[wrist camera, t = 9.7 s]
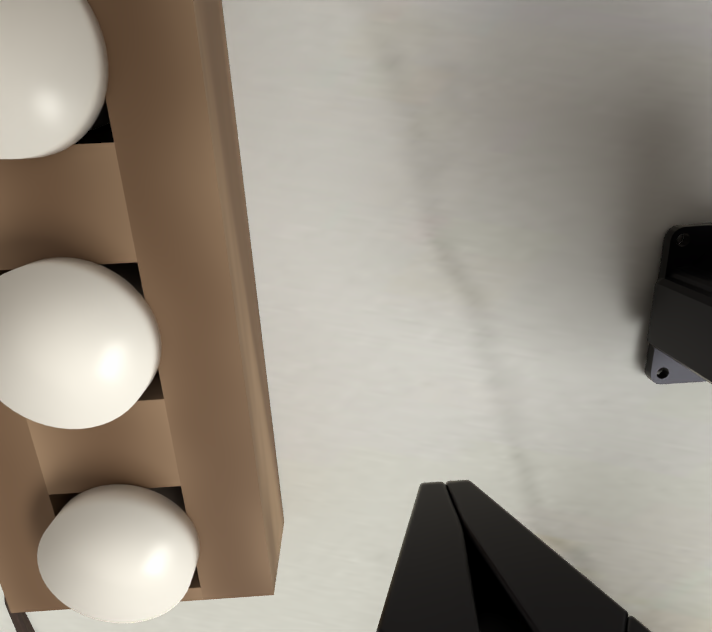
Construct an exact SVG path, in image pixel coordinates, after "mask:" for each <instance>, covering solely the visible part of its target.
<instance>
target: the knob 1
mask: <svg viewBox="0 0 712 632" xmlns="http://www.w3.org/2000/svg"><path fill="white" fill-rule="evenodd" d="M107 85H108V57H107V49H106V45H105V41H104V37H103V34H102V31H101V28H100V26H99V23H98V20H97V18H96V16H95V14H94V12H93V10H92V8H91V6H90V5H89V3H88V2H87V0H0V159H28V158H39V157H45V156H49V155H53V154H56V153H58V152H61V151H63V150H65V149H67V148H69V147H70V146H72V145H73V144H75V143H76V142H77V141H79V140H80V139H81V138H82V137H83V136H84V135H85V134H86V133H87V132H88V131H89V130H94V129H98V128H100V127H103V126H105V125H106V124H108V123H109V122H110V119H109V113H108V108H107V103H106V98H105V96H106V92H107Z"/></svg>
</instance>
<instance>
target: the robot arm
mask: <svg viewBox="0 0 712 632" xmlns="http://www.w3.org/2000/svg"><path fill="white" fill-rule="evenodd" d="M681 234H683V237H684V238H683V240H682V242H681V243H680V244H677V239H678V237H679V236H680V235H681ZM648 342H649V347H648V354H647V361H646V368H645V374H646V376H647V377H648V378H649V379H651V380H652V381H653V382H655V383H656V384H672V383H688V382H703V381H708V382H709V383H711V384H712V223H705V224H688V225H677V226H673V227H672V228H670V229H669V230H668V231H667V233H666V234H665V237H664V242H663V249H662V256H661V263H660V270H659V277H658V281H657V283H656V284H655V290H654V297H653V304H652V311H651V318H650V325H649V332H648ZM660 368H663V370H662V372H661V373H660V374H657V372H658V370H659V369H660ZM376 632H651V631H650V630H649V629H648V628H646V627H645V626H644V625H643V624H642V623H640V622H639V621H638V620H637V619H636V618H634V617H633V616H629V617H628V612H627V611H626V610H624V609H623V608H622V607H621V606H620V605H618V604H617V603H616V602H615V601H614V600H612V599H611V598H610V597H609V596H608V595H606V594H605V593H604V592H603V591H602V590H600V589H599V588H598V587H597V586H596V585H594V584H593V583H592V582H591V581H590V580H588V579H587V578H586V577H585V576H584V575H582V574H581V573H580V572H579V571H578V570H576V569H575V568H574V567H573V566H572V565H570V564H569V563H568V562H567V561H566V560H564V559H563V558H562V557H561V556H560V555H558V554H557V553H556V552H555V551H554V550H552V549H551V548H550V547H549V546H548V545H546V544H545V543H544V542H543V541H542V540H540V539H539V538H538V537H537V536H536V535H535V534H533V533H532V532H531V531H530V530H529V529H527V528H526V527H525V526H524V525H523V524H521V523H520V522H519V521H518V520H517V519H515V518H514V517H513V516H512V515H511V514H509V513H508V512H507V511H506V510H505V509H503V508H502V507H501V506H500V505H499V504H497V503H496V502H495V501H494V500H493V499H491V498H490V497H489V496H488V495H487V494H485V493H484V492H483V491H482V490H481V489H479V488H478V487H477V486H476V485H475V484H473V483H472V482H471V481H469V480H458V481H448V482H446V484H444V483H443V482H428V483H422V484H421V485H420V487H419V490H418V493H417V497H416V500H415V503H414V507H413V510H412V514H411V517H410V520H409V524H408V527H407V530H406V534H405V537H404V540H403V544H402V547H401V550H400V554H399V557H398V561H397V564H396V567H395V571H394V574H393V577H392V581H391V584H390V587H389V591H388V594H387V597H386V601H385V604H384V607H383V611H382V614H381V618H380V621H379V624H378V628H377V631H376Z"/></svg>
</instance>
